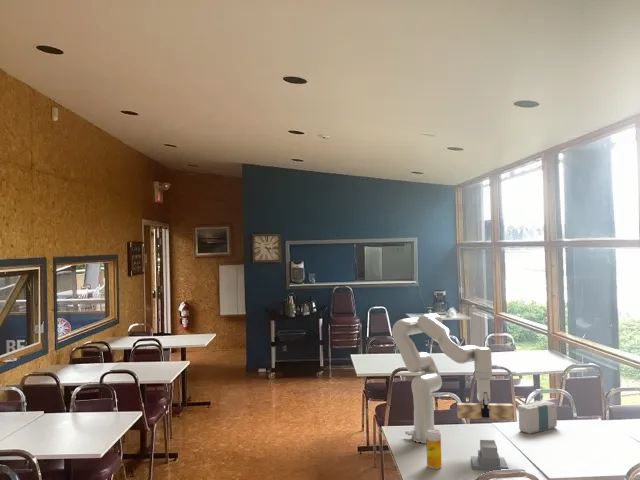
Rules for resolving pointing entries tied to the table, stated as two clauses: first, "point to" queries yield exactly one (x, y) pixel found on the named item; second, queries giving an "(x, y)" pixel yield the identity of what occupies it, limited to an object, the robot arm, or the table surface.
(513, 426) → the table surface
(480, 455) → the fulcrum stand
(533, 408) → the stereo radio cassette player
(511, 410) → the tan long bar
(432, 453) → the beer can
